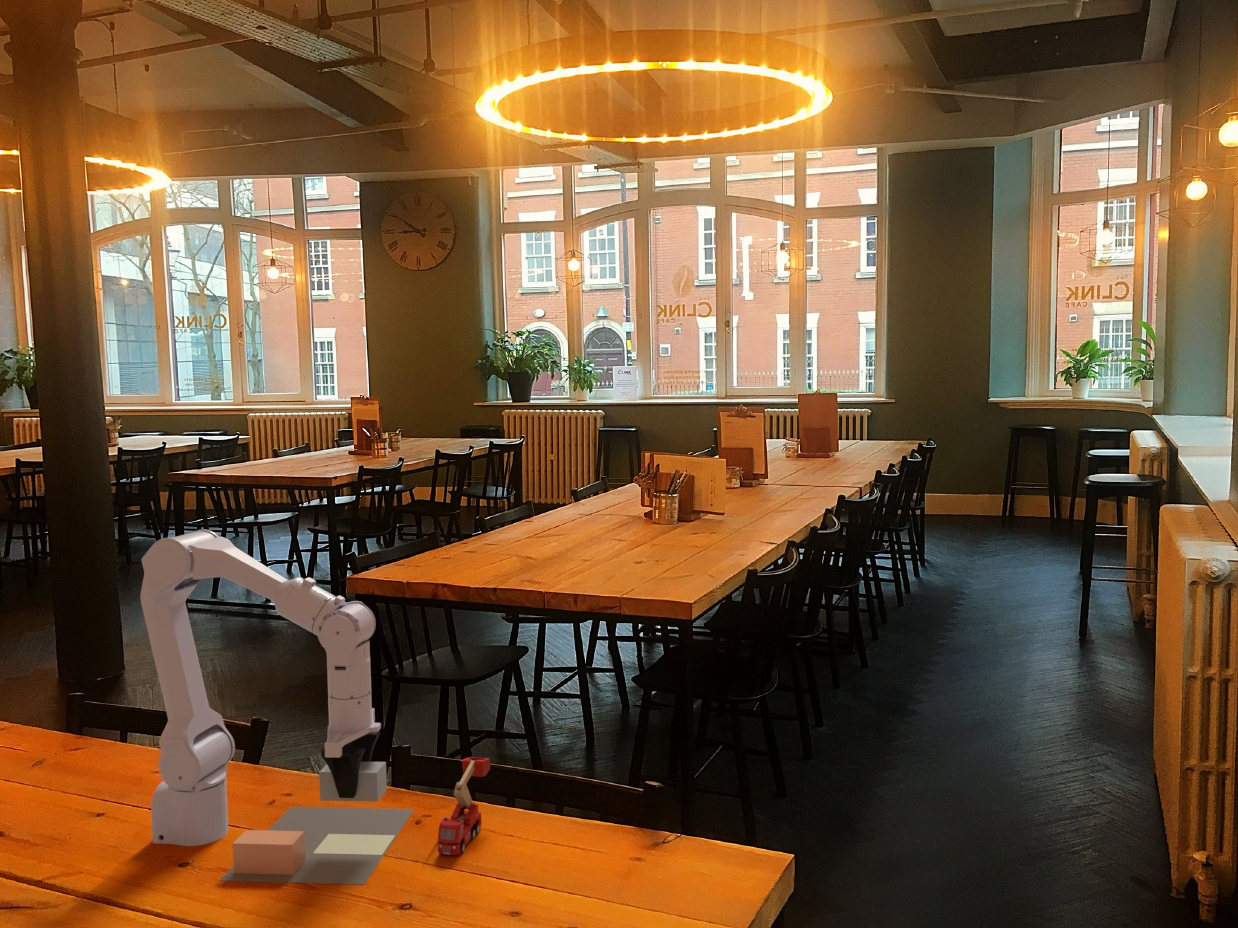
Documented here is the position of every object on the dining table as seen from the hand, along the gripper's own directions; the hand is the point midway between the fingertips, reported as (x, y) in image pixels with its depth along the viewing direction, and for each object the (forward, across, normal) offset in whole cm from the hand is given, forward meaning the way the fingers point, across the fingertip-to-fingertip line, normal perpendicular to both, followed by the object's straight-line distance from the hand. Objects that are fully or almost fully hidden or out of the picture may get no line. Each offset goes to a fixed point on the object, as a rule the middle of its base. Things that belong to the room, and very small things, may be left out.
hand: (352, 790), depth 138 cm
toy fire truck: (+9, +6, -14) cm, 18 cm away
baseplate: (+9, 0, +4) cm, 10 cm away
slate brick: (+1, 0, 0) cm, 1 cm away
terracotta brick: (+8, -7, +9) cm, 14 cm away
